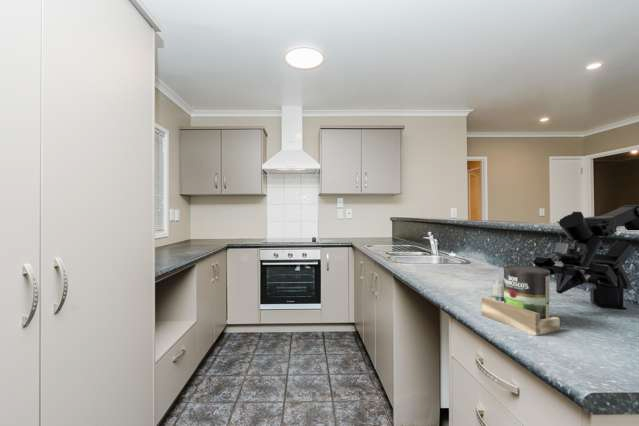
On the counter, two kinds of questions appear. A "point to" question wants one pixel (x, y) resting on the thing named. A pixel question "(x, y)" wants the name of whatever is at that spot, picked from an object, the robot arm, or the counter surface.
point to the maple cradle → (518, 317)
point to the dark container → (527, 288)
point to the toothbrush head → (498, 290)
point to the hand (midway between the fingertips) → (558, 292)
